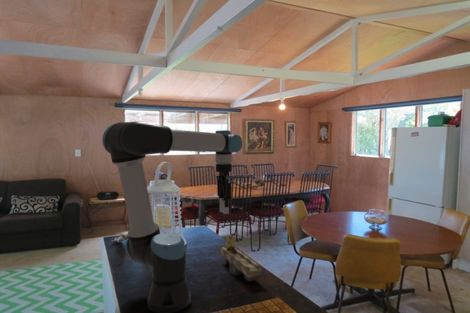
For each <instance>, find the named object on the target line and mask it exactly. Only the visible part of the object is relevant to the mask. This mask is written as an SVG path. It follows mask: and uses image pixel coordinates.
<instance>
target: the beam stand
mask: <svg viewBox="0 0 470 313" xmlns="http://www.w3.org/2000/svg"><path fill="white" fill-rule="evenodd" d="M219 253H220V255H222V256H223V258H225V263H226V264H228V265H229V273H231V274H232V275H233V276H240V275H244V277H243V278H244V279H245V280H246V281H247V282H254V281H258V280H259V275H262V268H261V267H260V266H261V265H260V264H259V263H257V262H255V261H254V260H253V259H252V258H250V257H249V256H247V255H246V254H245V253H244V252H242V251H241V250H239V249H238V248H237V247H235V249H234V252H230V251H228V250H227V249H226V247H224V246H222V247H221V248H220V250H219Z"/></svg>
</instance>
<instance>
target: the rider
mask: <svg viewBox="0 0 470 313" xmlns="http://www.w3.org/2000/svg"><path fill="white" fill-rule="evenodd" d="M225 248H226V249H227V250H228V251H230V252H234V249H235V248H236V237H235V236H233V235H232V234H229V235H228V236H226V237H225Z"/></svg>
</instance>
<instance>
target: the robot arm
mask: <svg viewBox="0 0 470 313" xmlns="http://www.w3.org/2000/svg"><path fill="white" fill-rule="evenodd" d="M101 141H102V146H103V148H104V149H105V151H106V152H107V153H109V154H110V158H111V161H112V162H111V163H112V164H113V165H115V166H116V167H117V168H118V174H119V179H120V183H121V188H122V192H123V197H124V198H123V199H124V202H125V207H126V212H127V216H128V220H129V226H130V229H129V230H128V231H127V239H126V241H125V252H126V254H127V256H128V257H129V258H130V259H131V260H132V261H134V262H135V263H138V264H141V265H143V266H145V267H147V268H149V269H151V286H150V289H149V294H148V296H147V301H146V302H147V308H148V310H150V311H151V312H153V313H177V312H180V311H182V310H185V309H186V308H187V307H189V305H190V304H191V301H192V300H191V299H192V296H191V291H190V289H189V285H188V283H187V279H186V278H187V277H186V252H187V251H186V244H185V240H184V238H183V237H182V236H180V235H179V234H175V233H169V232H168V233H166V232H165V233H161V230H160V226H159V224H158V223H155V221H154V216H153V210H152V206H151V200H150V196H149V191H148V185H147V181H146V175H145V170H144V165H143V164H144V163H143V161H144V160H145V159H146V156H148V155H157V154H163V155H164V154H168V153H169V152H200V153H201V152H202V153H209V152H210V153H214V152H215V172H217V173H218V175H216V187H217V188H216V189H217V190H216V191H217V193H216V194H217V197H218V198H219V213H222V214H223V215H230V200H231V199H232V183H233V178H232V177H231V178H230V174H229V173H231V172H232V171H233V166H232V165H233V164H232V161H233V160H232V158H233V155H232V153H238V152H240V151H241V150H242V147H243V139H242V137H241V135H239V134H236V133H235V134H234V133H232V132H231V130H229V129H226V130H223V129H221V130H216V131H215V132H205V131H194V130H185V129H184V130H182V129H173V128H172V129H171V127H169V126H168V125H160V124H157V123H155V124H154V123H149V122H144V121H136V120H135V121H120V122H116V123H112V124H111V125H109V126H108V127H107V128H106V129H105V131H104V132H103V135H102V140H101Z"/></svg>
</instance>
